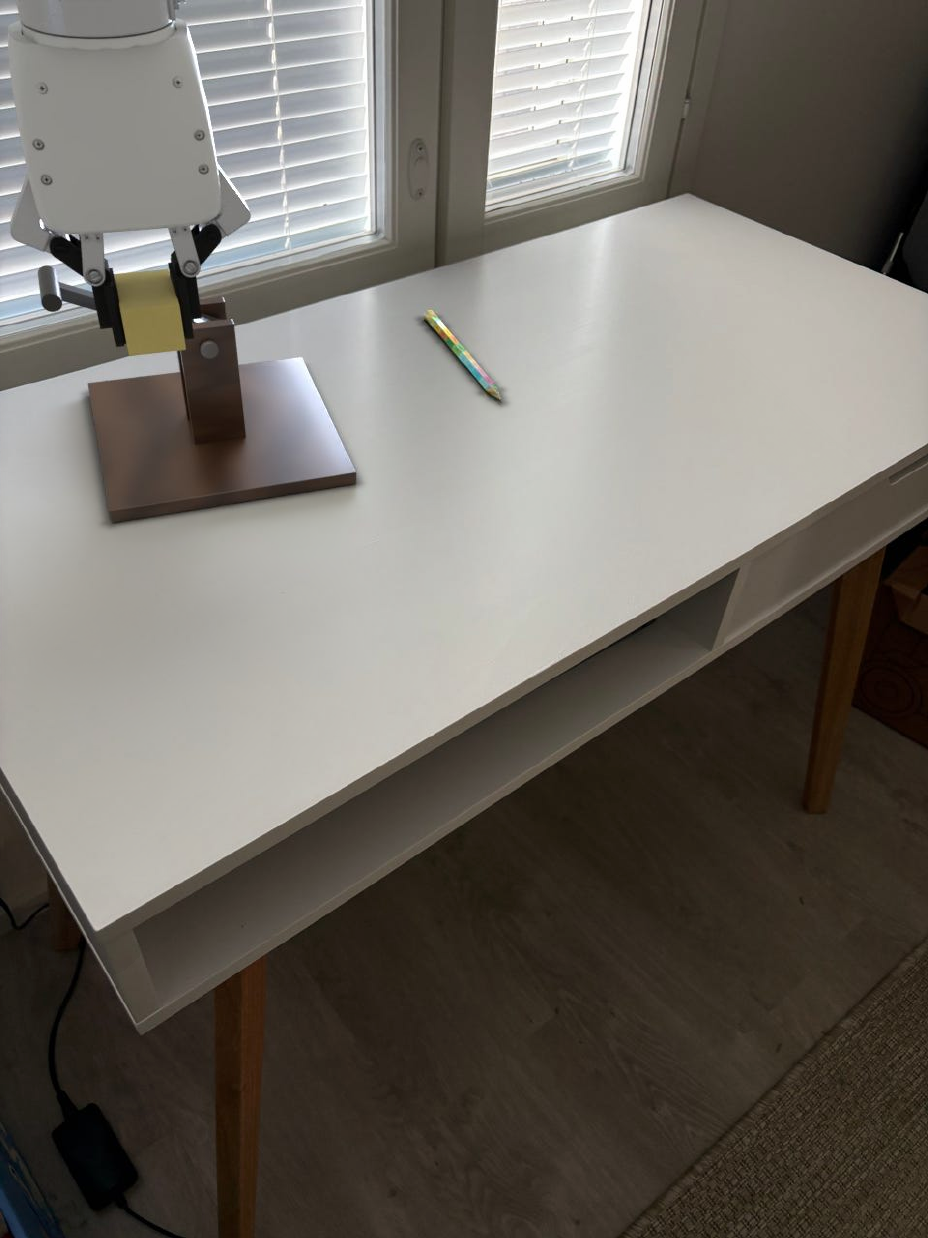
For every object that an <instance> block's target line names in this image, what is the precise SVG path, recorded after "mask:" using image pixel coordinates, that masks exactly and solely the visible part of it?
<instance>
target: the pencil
mask: <svg viewBox="0 0 928 1238" xmlns="http://www.w3.org/2000/svg"><path fill="white" fill-rule="evenodd" d="M423 318H424V319H425V321H426V322H427V323H428V325H430V327H431V328H432V329H433V330H434V331H435V332H436V333H437V335H438V336H439V337H440V338H441V339H442V341H443V342H444V343H445V344H446V345H447V346H448V347H449V349H450V350H451V351H452V353H453V354H454V355H455V356H456V357H457V358H458V360H460V362H461V363H462V364H463V366H464V367H465V368H466V369H467V370H468V371H469V373H470V374H471V375H472V376H473V378H474V379H475V380H476V381H477V382H478V383H479V384H480V385H481V386H482V388H483V389H484V390H485V392H487V394H489V396H492V397H494V398H496V399H497V400H500V401H502V398H501V395H500V392H499V389H498V387H497V386H496V383H495V382H494V381H493V380H492V379H491V377H489V375H488V374H487V373H486V372H485V371H484V369H482V367H481V366H480V365H479V364H478V362H476V360H475V359H474V358H473V356H472V355H471V354H470V353H469V352H468V351H467V350H466V348H465V347H463V345H462V344H461V343H460V341H458V339H457V338H456V337H455V336H454V335H453V334H452V332H451V331H450V330H449V329H448V328H447V326H446V325H445V324H444V323H443V322H442V320H441V318H439V317H438V316H437V314H435V313H434V311H433V310H432V309H430V310H425V313H424V314H423Z"/></svg>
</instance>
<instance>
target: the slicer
mask: <svg viewBox="0 0 928 1238" xmlns="http://www.w3.org/2000/svg"><path fill="white" fill-rule="evenodd" d="M199 300H200V307H201V313H202V314H205V315H208V316H212V317H215V318H218V319H222V320H217V321H208V322H199V323H192V326H193V333H194V339H186V338H185V337H184V340H185V346H186V350H180V351H176V358H177V363H178V370H179V371H177V372H168V373H160V374H159V373H158V374H152V375H144V376H135V377H126V378H120V379H112V380H111V379H110V380H102V381H96V382H88V383H87V389H88V395H89V401H90V408H91V412H92V413H91V414H92V419H93V425H94V431H95V436H96V441H97V448H98V453H99V459H100V464H101V470H102V476H103V482H104V483H103V484H104V489H105V493H106V494H105V495H106V500H107V507H108V511H109V516H110V521H111V523H112V524H113V523H120V522H125V521H133V520H138V519H144V518H150V517H151V518H152V517H156V516H163V515H169V514H176V513H181V512H187V511H194V510H200V509H201V510H202V509H207V508H212V507H213V508H214V507H219V506H225V505H231V504H232V505H233V504H238V503H243V502H244V503H245V502H250V501H251V502H252V501H256V500H262V499H263V500H264V499H270V498H275V497H281V496H288V495H293V494H300V493H305V492H307V493H308V492H312V491H319V490H324V489H329V488H330V489H331V488H337V487H343V486H350V485H356V484H357V471H356V469H355V467H354V464H353V463H352V460H351V458H350V456H349V454H348V452H347V450H346V448H345V445H344V444H343V442H342V439H341V437H340V435H339V433H338V431H337V429H336V427H335V424H334V422H333V420H332V418H331V416H330V414H329V412H328V410H327V408H326V405H325V403H324V400H323V399H322V397H321V394H320V392H319V390H318V388H317V386H316V384H315V382H314V380H313V377H312V376H311V374H310V371H309V369H308V368H307V365H306V363H305V361H304V358H303V357H302V356H299V357H290V358H282V359H275V360H266V361H258V362H257V361H256V362H248V363H241V364H239V356H238V348H237V340H236V329H235V323H234V321H233V319H232V318H228V315H227V307H226V306H227V305H226V301H225V298H224V296H218V297H208V298H207V297H206V298H199Z"/></svg>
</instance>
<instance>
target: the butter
mask: <svg viewBox="0 0 928 1238" xmlns="http://www.w3.org/2000/svg"><path fill="white" fill-rule="evenodd" d="M114 277H115V282H116V287H117V292H118V297H119V307H120V312H121V317H122V323H123V328H124V333H125V338H126V343H127V344H126V348H127V352H128V356H129V357H135V356H142V355H143V356H145V355H152V354H153V355H154V354H161V353H171V352H177V351H180V350H186V346H185V340H184V333H183V327H182V320H181V313H180V307H179V303H178V299H177V297H176V295H175V291H174V288H173V284H172V281H171V277H170V272H169V268H165V269H153V270H142V271H133V272H121V273H120V272H119V273H114Z"/></svg>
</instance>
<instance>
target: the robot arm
mask: <svg viewBox="0 0 928 1238" xmlns="http://www.w3.org/2000/svg"><path fill="white" fill-rule="evenodd" d="M15 3H16V6H17V13H18V18H19V20H17V21H15V22H12V23H10V24H9V25H8V26H7V51H8V61H9V63H8V64H9V74H10V83H11V89H12V96H13V103H14V107H15V114H16V119H17V125H18V130H19V137H20V141H21V146H22V150H23V151H22V152H23V156H24V161H25V166H26V172H27V173H26V175H25V179H24V181H23V183H22V187H21V189H20V193H19V196H18V198H17V202H16V203H15V207H14V209H13V212H12V215H11V218H10V222H9V229H10V230H9V232H10V236H11V238H12V239H13V240H14V241H16V242H18V243H20V244H23V245H25V246H28V247H30V248H33V249H35V250H38V251H40V252H43V253H48V254H49V255H52V257H54V259H56V260H57V261H59V262H60V263H62V264H63V265H65V266H66V267H67V268H68V269H71V270H72V271H74V272H75V273H76V274H78V275H79V276H81V277H82V278H83V279H84V281H85V283H86V284H87V285H88V286H90V287H91V292H93V297H94V301H95V306H96V316H97V319H98V320H97V321H98V325H99V329H100V330H104V329H112V334H113V338H114V343H115V348H121V347H125V345H127V343H126V338H125V333H124V328H123V323H122V317H121V312H120V307H119V297H118V292H117V287H116V282H115V277H114V274H115V272H114V267H110V265H109V259H107V258H105V242H104V234H110V233H122V232H124V233H125V232H136V231H146V230H147V231H149V230H159V229H160V230H161V229H168V233H169V236H170V240H171V243H172V247H173V251H172V253H171V254H170V262H167V265H168V269H169V272H170V277H171V281H172V284H173V288H174V291H175V295H176V297H177V299H178V303H179V307H180V313H181V320H182V327H183V333H184V337H185V338H186V339H194V333H193V326H192V319H201V318H202V314H201V307H200V300H199V299H200V293H199V287H198V279H197V277H198V275H199V274H200V273H201V271H202V265H203V264H204V263H205V262H206V260H207V259H208V258H209V257H210V256H211V255H212V253H213V252H214V251H215V250H216V248H217V247H219V245H220V244H221V243H222V240H224V238H226V237H229V236H230V235H232V234H233V233H235V232H236V231H238V230H239V229H241V228H242V227H244V226H245V225H246V224H248V223H249V221H250V220H251V219H252V214H251V211H250V209H249V207H248V205H247V203H246V201H245V200H244V199H243V197H242V195H241V194H240V193H239V191H238V190H237V188H236V187H235V186H234V184H233V183H232V182H231V180H230V178H229V177H228V176H227V175H226V173H225V172H224V170H223V168H221V166H220V165H219V164H218V160H217V153H216V147H215V140H214V134H213V130H212V124H211V118H210V113H209V107H208V102H207V98H206V94H205V90H204V85H203V82H202V78H201V73H200V67H199V62H198V56H197V52H196V49H195V45H194V43H193V39H192V35H191V33H190V29H189V26H188V24H187V22H186V21H185V20H183V19H181V18H178V17H176V11H175V10H180V5H179V4H181V5H182V4H183V5H184V4H186V3H187V0H15ZM191 226H193V227H192V229H191ZM77 236H78V238H77Z"/></svg>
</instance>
